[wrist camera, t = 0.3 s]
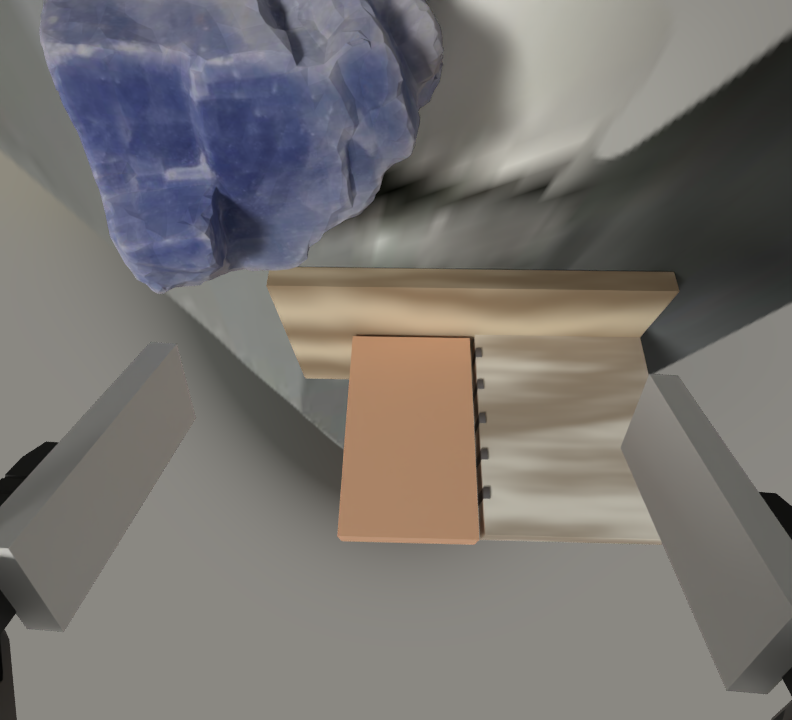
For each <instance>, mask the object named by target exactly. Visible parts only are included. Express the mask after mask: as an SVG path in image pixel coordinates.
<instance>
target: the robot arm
mask: <svg viewBox="0 0 792 720" xmlns="http://www.w3.org/2000/svg"><path fill="white" fill-rule="evenodd" d="M195 419H196V416H195V412H194V409H193V405H192V401H191V397H190V393H189V389H188V385H187V381H186V377H185V374H184V370H183V366H182V362H181V358H180V354H179V350H178V346H177V344H174V343H158V342H150V343H149V344H148V345H147V346H146V348H145V349H144V350H143V351H142V352H141V353H140V354H139V355H138V356H137V357H136V358H135V359H134V361H133V362H132V363H131V364H130V365H129V366H128V367H127V368H126V369H125V370H124V371H123V373H122V374H121V375H120V376H119V377H118V378H117V379H116V380H115V381H114V383H113V384H112V385H111V386H110V387H109V388H108V389H107V390H106V391H105V392H104V394H103V395H102V396H101V397H100V398H99V399H98V400H97V401H96V402H95V404H93V405H92V407H91V408H90V409H89V410H88V411H87V412H86V413H85V414H84V415H83V416H82V418H81V419H80V420H79V421H78V422H77V423H76V424H75V425H74V426H73V427H72V429H71V430H70V431H69V432H68V433H67V434H66V435H65V436H64V437H63V438H62V440H61V441H60V442H59V443H57V442H45V443H43V444H42V445H40V446H39V447H37V448H36V449H34V450H33V451H31V452H29V453H28V454H26V455H25V456H23V457H22V458H21V459H20V460H19V461H18V462H17V463H16V464H15V465H14V466H13V467H12V468H11V469H10V470H9V471H8V472H7V473H6V475H5V478H2V479H1V480H0V720H17V718H16V707H15V697H14V686H13V676H12V664H11V654H10V643H9V638H8V636H7V634H6V631H5V630H4V629H5V627H6V626H7V625H8V623H9V622H10V621H11V619H12V618H13V616H14V615H15V614H17V616H18V617H19V618H20V620H21V621H22V622H23V624H24V625H25V626H26V628H27V629H35V630H46V631H57V632H64V631H65V629H66V628H67V626H68V624H69V623H70V621H71V620H72V618H73V616H74V615H75V613H76V611H77V610H78V608H79V606H80V605H81V603H82V602H83V600H84V599H85V597H86V595H87V594H88V592H89V590H90V589H91V587H92V585H93V584H94V582H95V581H96V579H97V577H98V576H99V574H100V573H101V571H102V569H103V568H104V566H105V564H106V563H107V561H108V559H109V558H110V556H111V555H112V553H113V552H114V550H115V548H116V547H117V545H118V543H119V542H120V540H121V539H122V537H123V535H124V534H125V532H126V530H127V529H128V527H129V526H130V524H131V522H132V521H133V519H134V518H135V516H136V514H137V513H138V511H139V509H140V508H141V506H142V505H143V503H144V501H145V500H146V498H147V496H148V495H149V493H150V492H151V490H152V488H153V487H154V485H155V484H156V482H157V480H158V479H159V477H160V475H161V474H162V472H163V471H164V469H165V467H166V466H167V464H168V462H169V461H170V459H171V458H172V456H173V454H174V453H175V451H176V450H177V448H178V446H179V445H180V443H181V441H182V440H183V438H184V436H185V435H186V433H187V432H188V430H189V428H190V427H191V425H192V424H193V422H194V420H195ZM620 448H621V450H622V452H623V455H624V457H625V459H626V462H627V464H628V466H629V468H630V471H631V473H632V475H633V478H634V480H635V482H636V484H637V487H638V489H639V491H640V494H641V496H642V498H643V501H644V503H645V505H646V507H647V510H648V512H649V514H650V517H651V519H652V521H653V523H654V526H655V528H656V530H657V533H658V535H659V537H660V539H661V542H662V544H663V546H664V549H665V551H666V553H667V556H668V558H669V560H670V562H671V565H672V567H673V569H674V571H675V574H676V576H677V578H678V581H679V583H680V585H681V588H682V590H683V592H684V594H685V597H686V599H687V601H688V604H689V606H690V608H691V610H692V613H693V615H694V617H695V620H696V622H697V624H698V626H699V629H700V631H701V633H702V636H703V638H704V640H705V643H706V645H707V647H708V649H709V652H710V654H711V656H712V658H713V661H714V663H715V665H716V668H717V670H718V672H719V675H720V677H721V679H722V681H723V684H724V686H725V688H726V690H727V691H736V692H749V693H759V694H768V693H769V692H770V691H771V690H772V689H773V688H774V687H775V686H776V685H777V684H778V683H779V682H780V681H781V680H782V679H783V681H784V683H785V684H786V686H787V688H788V690H789V692H790V693H791V696H792V506H791V505H789V504H788V503H787V502H786V501H785V500H784V499H782V498H781V497H780V496H778V495H777V494H776V493H765V492H758V491H757V489H756V488H755V486H754V485H753V483H752V482H751V480H750V479H749V478H748V476H747V475H746V473H745V472H744V470H743V469H742V468H741V466H740V465H739V463H738V462H737V460H736V459H735V458H734V456H733V455H732V453H731V452H730V450H729V449H728V448H727V446H726V444H725V443H724V442H723V440H722V439H721V437H720V436H719V434H718V433H717V431H716V430H715V428H714V427H713V426H712V424H711V423H710V421H709V420H708V418H707V417H706V415H705V414H704V413H703V411H702V410H701V408H700V407H699V405H698V404H697V402H696V401H695V400H694V398H693V397H692V395H691V394H690V392H689V391H688V389H687V388H686V387H685V385H684V384H683V382H682V381H681V379H680V378H679V377H678V376H676V375H660V374H649V376H648V378H647V381H646V383H645V386H644V389H643V391H642V394H641V396H640V399H639V401H638V404H637V406H636V409H635V412H634V414H633V417H632V419H631V422H630V424H629V427H628V430H627V432H626V435H625V437H624V440H623V442H622V445H621V447H620ZM771 720H792V700H791V701H790V702H789V703H788V704H787V705H786V706H785V707H784V708H783V709H782V710H780V711H779V712H778V713H777V714H776V715H775V716H774V717H773V718H772V719H771Z"/></svg>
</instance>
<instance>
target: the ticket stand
mask: <svg viewBox="0 0 792 720" xmlns="http://www.w3.org/2000/svg"><path fill="white" fill-rule="evenodd" d="M267 288H268V290H269V293H270V295H271V298H272V300H273V302H274V305H275V307H276V309H277V312H278V314H279V317H280V319H281V321H282V324H283V326H284V329H285V331H286V333H287V336H288V338H289V340H290V343H291V345H292V348H293V350H294V352H295V355H296V357H297V360H298V362H299V364H300V367H301V369H302V371H303V374H304V376H305V378H315V379H349V378H350V365H351V352H352V339H353V336H367V337H429V338H470V355H471V376H472V381H473V403H474V422H475V443H476V467H477V484H478V506H479V526H480V540H504V541H505V540H506V541H542V542H583V543H618V544H619V543H621V544H657V545H658V544H659V545H663V544H662V542H661V539H660V537H659V535H658V533H657V530H656V528H655V526H654V523H653V521H652V519H651V517H650V514H649V512H648V510H647V507H646V505H645V503H644V501H643V498H642V496H641V494H640V491H639V489H638V487H637V484H636V482H635V480H634V478H633V475H632V473H631V471H630V468H629V466H628V464H627V462H626V459H625V457H624V455H623V452H622V450H621V448H620V447H621V445H622V442H623V440H624V437H625V435H626V432H627V430H628V427H629V424H630V422H631V419H632V417H633V414H634V412H635V409H636V406H637V404H638V401H639V399H640V396H641V394H642V391H643V389H644V386H645V383H646V381H647V378H648V376H649V375H648V370H647V366H646V362H645V357H644V353H643V348H642V344H641V340H640V337H641V336H642V334H643V333H644V332H645V331H646V330H647V329H648V327H649V326H650V325H651V324H652V323H653V322H654V320H655V319H656V318H657V317H658V316H659V315H660V313H661V312H662V311H663V310H664V309H665V308H666V306H667V305H668V304H669V303H670V302H671V301H672V299H673V298H674V297H675V296H676V295H677V294H678V292H679V288H678V284H677V281H676V277H675V274H674V272H641V271H563V270H485V269H407V268H329V267H295V268H292V269H286V270H276V271H272V270H269V274H268V280H267Z"/></svg>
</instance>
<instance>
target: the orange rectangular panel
mask: <svg viewBox="0 0 792 720" xmlns="http://www.w3.org/2000/svg"><path fill="white" fill-rule="evenodd" d="M476 482H477V481H476V460H475V439H474V418H473V397H472V376H471V355H470V338H429V337H367V336H353V339H352V352H351V365H350V378H349V391H348V404H347V417H346V430H345V443H344V457H343V470H342V483H341V496H340V509H339V522H338V537H339V538H340V539H341V541H358V542H395V543H432V544H434V543H435V544H471V545H474V544H475V543H476V542H477V541H478V540H479V525H478V503H477V483H476Z"/></svg>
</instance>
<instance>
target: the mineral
mask: <svg viewBox="0 0 792 720" xmlns="http://www.w3.org/2000/svg"><path fill="white" fill-rule="evenodd" d="M40 41H41V45H42V47H43V49H44V55H45V59H46V63H47V65H48V68H49V70H50V73H51V76H52V78H53V81H54V84H55V87H56V90H58V91H59V95H60V98H61V101H62V103H63V105H64V107H65V109H66V111H67V113H68V115H69V117H70V119H71V121H72V123H73V125H74V126H75V128H76V130H77V132H78V134H79V137H80V139H81V142H82V145H83V147H84V150H85V153H86V155H87V158H88V161H89V164H90V166H91V169H92V172H93V175H94V178H95V181H96V183H97V185H98V188H99V190H100V194H101V197H102V201H103V205H104V209H105V213H106V218H107V223H108V228H109V233H110V237H111V239H112V241H113V243H114V244H115V246H116V248H117V250H118V252H119V253H120V255H121V257H122V259H123V261H124V263H125V264H126V265H127V266H128V267H129V269H130V270H131V271H132V272H133V274H134V276H135V277H136V279H137V280H139V281H141V282H143V283H145V284H147V285H148V286H149V288H150V289H151V290H152V291H154V292H156V293H158V294H163V293H165V292H167V291H168V290H170V289H172V288H174V287H182V286H195V285H201V284H202V283H203V282H204V281H207V280H212V279H214V278H216V277H218V276H220V275H223V274H226V273H228V272H230V271H237V270H242V269H246V270H250V271H258V270H272V271H276V270H286V269H292V268H295V267H298V266H299V265H300V264H301V263H302V262H303V261H305V260H306V259H307V257H308V251H309V248H310V246H311V245H313V244H315V243H316V242H318V241H319V240H320V239H321V237H322V235H323V234H324V232H326V231H327V230H329V229H331V228H333V227H335V226H336V225H338V224H340V223H341V222H343V221H344V220H346V219H349V218H352V217H356V216H358V215H359V214H361V213H362V212H363V210H364V209H366V208H367V207H368V205H370V204H371V202H372V201H373V200H374V198H375V195H376V193H377V192H378V191H379V190H380V186H381V182H382V178H383V175H384V173H385V171H386V170H388V169H389V168H390V167H391V166H392V165H393V164H395V163H398V162H400V161H402V160H404V159H406V158H408V157H409V156H410V155H411V154H412V151H413V149H414V146H415V143H416V138H417V131H418V127H419V123H420V116H419V113H418V111H419V109H420V107H422V106H424V105H425V104H427V103H428V102H429V101H430V99H431V96H432V94H433V92H434V90H435V88H436V86H437V85H438V83H439V81H440V76H441V71H442V66H443V63H442V58H443V55H442V53H443V51H444V49H443V47H442V33H441V29H440V25H439V23H438V22H437V20H436V18H435V16H434V14H433V12H432V11H431V9H430V7H429V6H428V5H427V3H426V1H425V0H44V2H43V11H42V13H41V24H40Z"/></svg>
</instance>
